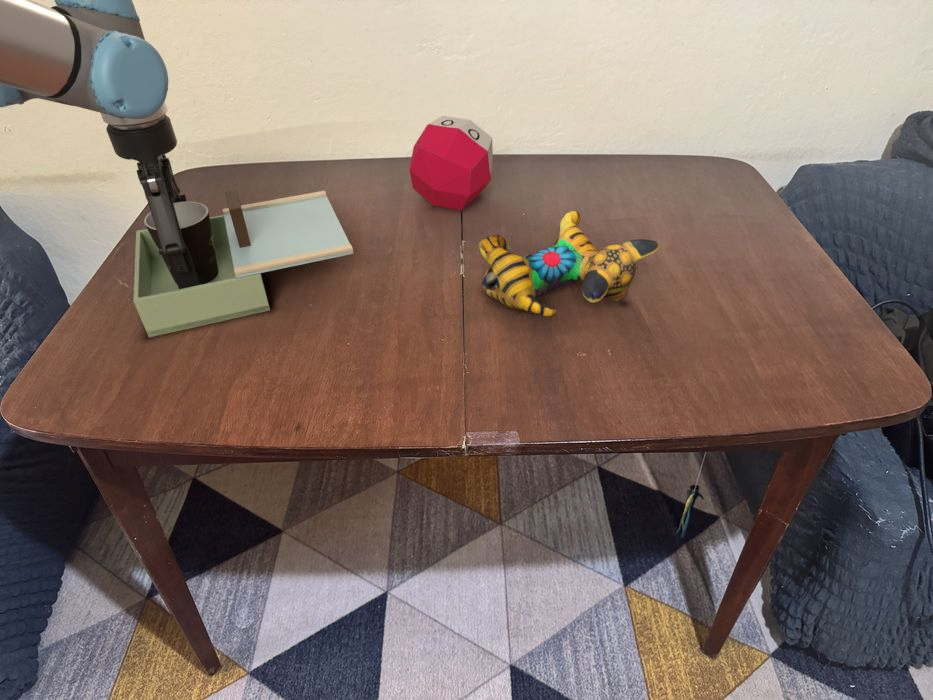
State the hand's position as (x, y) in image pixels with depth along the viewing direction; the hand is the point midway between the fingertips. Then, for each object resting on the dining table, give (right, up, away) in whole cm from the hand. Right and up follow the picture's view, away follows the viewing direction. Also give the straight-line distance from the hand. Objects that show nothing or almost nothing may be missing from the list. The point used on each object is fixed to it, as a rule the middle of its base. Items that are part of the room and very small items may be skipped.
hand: (188, 266), depth 93 cm
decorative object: (+38, +15, +23) cm, 47 cm away
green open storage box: (+2, -3, +3) cm, 4 cm away
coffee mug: (0, -2, +2) cm, 3 cm away
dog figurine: (+54, -5, -1) cm, 54 cm away
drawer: (+13, +5, +2) cm, 15 cm away
